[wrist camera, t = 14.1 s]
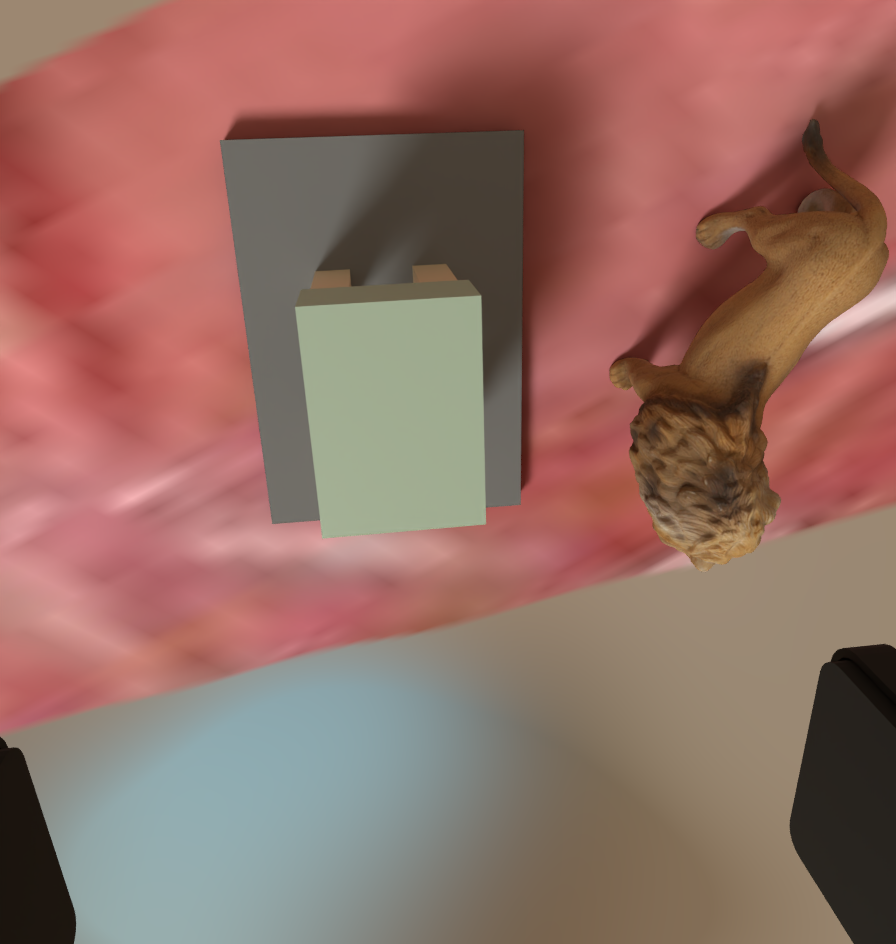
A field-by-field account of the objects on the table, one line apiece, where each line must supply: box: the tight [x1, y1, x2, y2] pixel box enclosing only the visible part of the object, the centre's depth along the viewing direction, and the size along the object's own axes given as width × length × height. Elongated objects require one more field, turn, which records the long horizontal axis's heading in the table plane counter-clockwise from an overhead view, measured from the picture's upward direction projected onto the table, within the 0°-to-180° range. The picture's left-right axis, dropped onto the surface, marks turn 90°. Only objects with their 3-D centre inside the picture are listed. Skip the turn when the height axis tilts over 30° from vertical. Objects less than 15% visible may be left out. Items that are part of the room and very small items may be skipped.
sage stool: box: [295, 264, 486, 538], centre depth 25 cm, size 7×5×7 cm
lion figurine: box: [610, 119, 889, 572], centre depth 26 cm, size 15×5×9 cm, turn 158°
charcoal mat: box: [220, 130, 524, 524], centre depth 29 cm, size 10×14×1 cm
